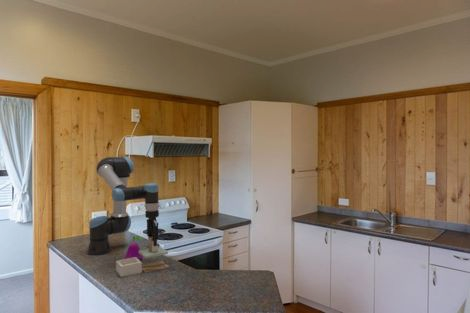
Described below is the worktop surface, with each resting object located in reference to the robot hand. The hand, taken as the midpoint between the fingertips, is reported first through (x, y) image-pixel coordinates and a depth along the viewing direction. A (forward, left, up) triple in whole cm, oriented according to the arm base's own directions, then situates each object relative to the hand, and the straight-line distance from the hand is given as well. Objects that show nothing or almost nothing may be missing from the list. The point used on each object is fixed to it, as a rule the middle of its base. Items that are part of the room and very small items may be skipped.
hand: (153, 250), depth 185 cm
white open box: (0, -14, -10) cm, 17 cm away
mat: (0, 0, -10) cm, 10 cm away
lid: (0, 0, -2) cm, 2 cm away
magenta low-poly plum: (-19, -6, -10) cm, 22 cm away
